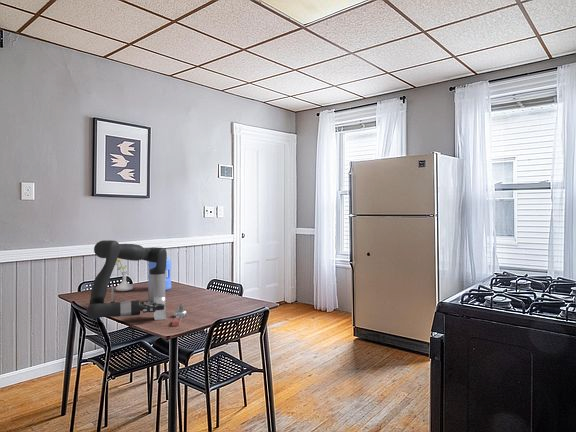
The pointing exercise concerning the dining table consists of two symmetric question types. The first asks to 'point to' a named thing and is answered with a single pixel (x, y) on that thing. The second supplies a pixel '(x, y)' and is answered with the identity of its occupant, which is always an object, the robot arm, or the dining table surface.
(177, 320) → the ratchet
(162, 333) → the dining table surface
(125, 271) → the flower in vase
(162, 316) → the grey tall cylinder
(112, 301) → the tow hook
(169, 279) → the water jug
